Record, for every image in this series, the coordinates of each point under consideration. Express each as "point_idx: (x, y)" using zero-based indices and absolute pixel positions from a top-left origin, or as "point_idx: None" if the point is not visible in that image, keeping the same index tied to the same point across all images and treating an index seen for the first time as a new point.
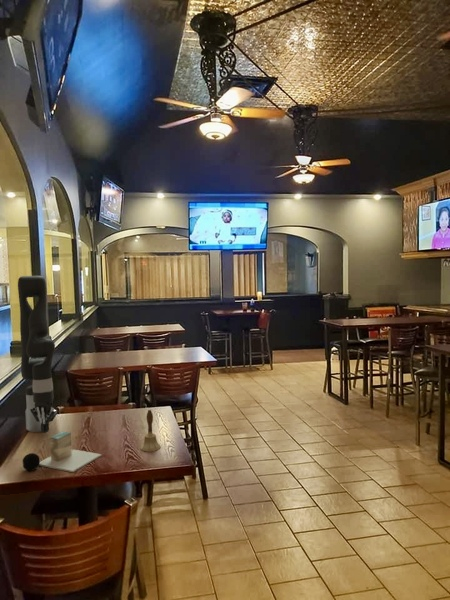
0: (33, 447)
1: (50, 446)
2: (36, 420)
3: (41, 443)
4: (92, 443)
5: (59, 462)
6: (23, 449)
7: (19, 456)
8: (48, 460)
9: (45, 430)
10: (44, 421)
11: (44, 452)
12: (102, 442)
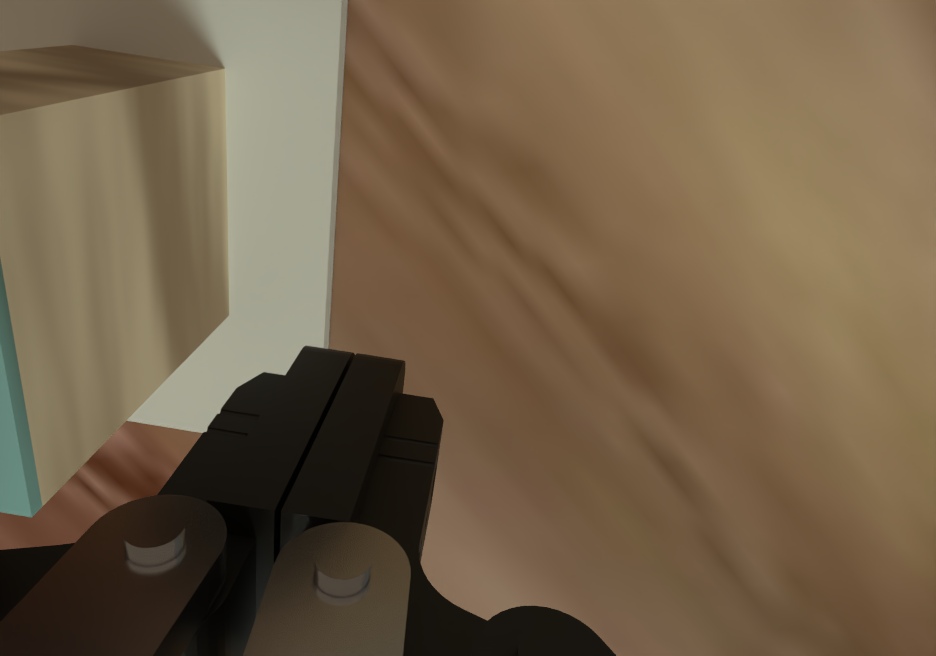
0: (807, 439)
1: (104, 92)
2: (600, 651)
3: (767, 552)
4: None
5: (38, 14)
6: (923, 364)
7: (852, 131)
8: (250, 42)
9: (270, 388)
10: (94, 574)
11: (549, 326)
12: None
